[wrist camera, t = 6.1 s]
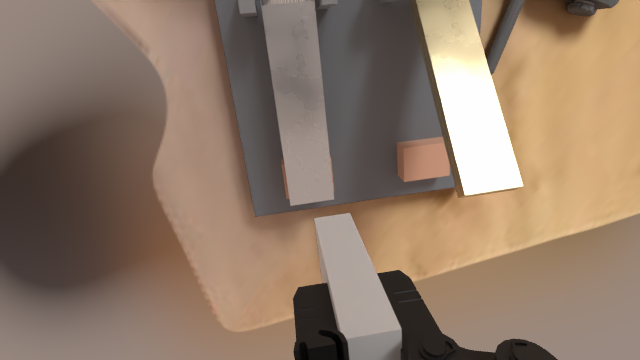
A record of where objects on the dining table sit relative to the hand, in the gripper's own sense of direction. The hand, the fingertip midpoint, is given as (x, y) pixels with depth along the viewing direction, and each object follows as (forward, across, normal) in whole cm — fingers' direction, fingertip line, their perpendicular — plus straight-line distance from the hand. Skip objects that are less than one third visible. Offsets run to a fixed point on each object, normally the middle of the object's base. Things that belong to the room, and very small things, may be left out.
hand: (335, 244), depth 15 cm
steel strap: (+14, 0, +4) cm, 15 cm away
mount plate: (+18, +5, +4) cm, 19 cm away
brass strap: (+10, +10, +5) cm, 15 cm away
